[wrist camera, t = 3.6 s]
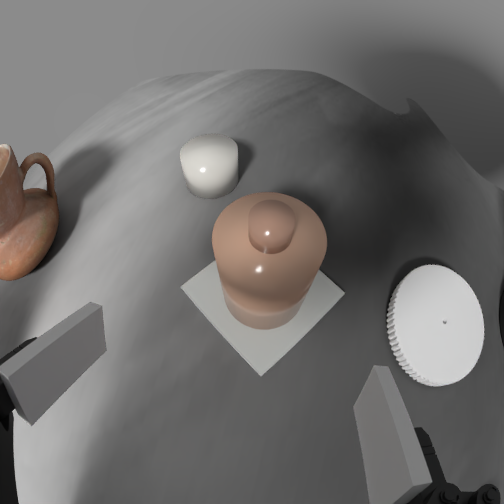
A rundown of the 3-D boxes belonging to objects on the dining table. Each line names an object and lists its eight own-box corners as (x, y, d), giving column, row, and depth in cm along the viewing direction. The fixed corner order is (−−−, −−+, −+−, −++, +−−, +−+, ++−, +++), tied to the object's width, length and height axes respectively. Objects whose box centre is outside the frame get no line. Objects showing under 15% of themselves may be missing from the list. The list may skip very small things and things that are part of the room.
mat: (265, 224, 33) (265, 222, 32) (343, 294, 28) (344, 293, 28) (181, 288, 28) (180, 286, 28) (260, 376, 24) (261, 376, 24)
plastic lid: (440, 259, 31) (450, 249, 29) (484, 348, 25) (497, 343, 22) (361, 299, 28) (370, 290, 26) (412, 411, 22) (425, 410, 20)
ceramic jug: (6, 314, 25) (-66, 264, 13) (-10, 249, 30) (-59, 197, 18) (93, 230, 32) (42, 149, 20) (63, 181, 37) (26, 114, 25)
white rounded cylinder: (216, 155, 39) (214, 127, 34) (249, 179, 36) (249, 151, 32) (176, 179, 36) (169, 151, 32) (207, 207, 34) (202, 179, 29)
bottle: (265, 243, 31) (272, 159, 21) (319, 292, 28) (357, 222, 18) (207, 288, 28) (184, 214, 18) (261, 346, 25) (270, 303, 15)
